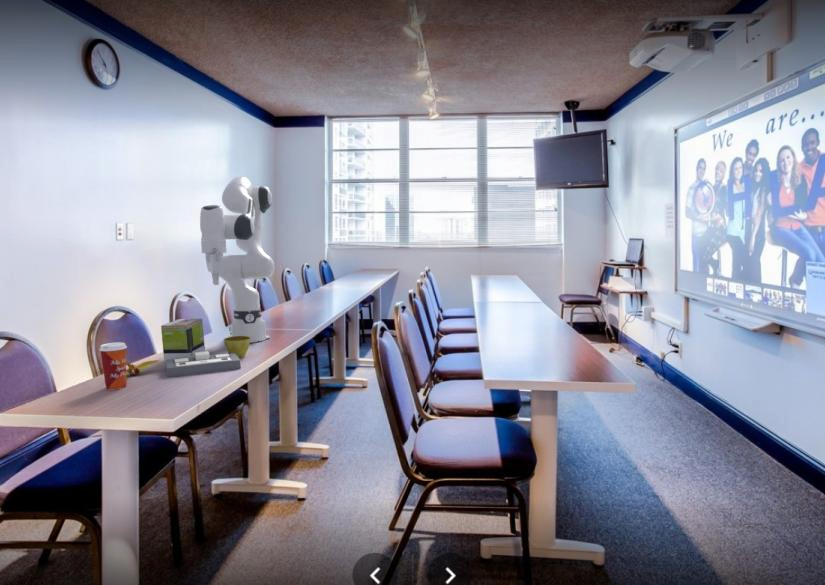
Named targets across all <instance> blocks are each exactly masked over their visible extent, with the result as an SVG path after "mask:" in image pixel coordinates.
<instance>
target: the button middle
mask: <svg viewBox="0 0 825 585" xmlns="http://www.w3.org/2000/svg"><path fill="white" fill-rule="evenodd" d="M209 355H210V352H209V351H208V350H207V351H206V350H205V352H196V353H195V361H199V360H208V359H210V356H209Z"/></svg>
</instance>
